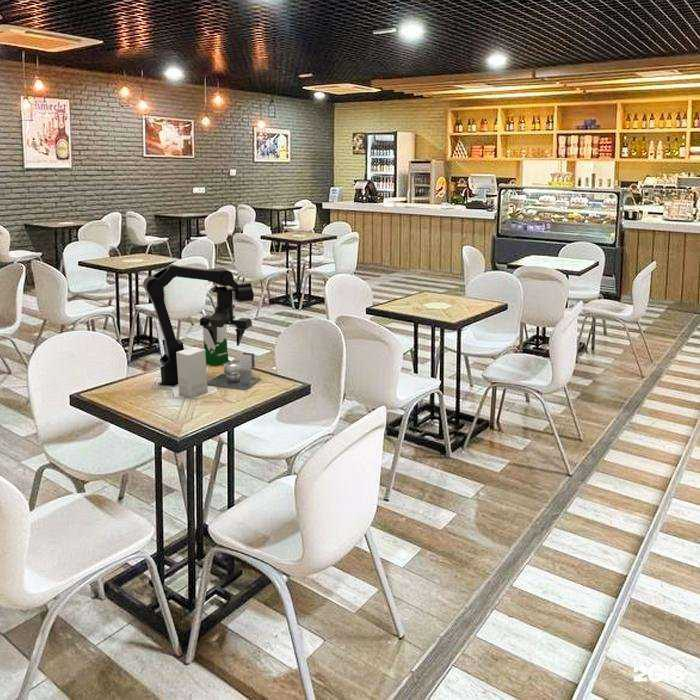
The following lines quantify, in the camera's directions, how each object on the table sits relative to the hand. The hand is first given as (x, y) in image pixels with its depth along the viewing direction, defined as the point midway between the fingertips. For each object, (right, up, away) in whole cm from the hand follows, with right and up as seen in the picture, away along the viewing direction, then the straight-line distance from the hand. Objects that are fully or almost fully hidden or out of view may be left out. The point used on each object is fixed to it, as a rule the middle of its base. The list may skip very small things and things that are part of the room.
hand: (226, 344), depth 269 cm
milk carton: (-8, -7, +20) cm, 23 cm away
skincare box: (-9, -17, -16) cm, 25 cm away
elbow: (+5, -10, -1) cm, 11 cm away
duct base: (+3, -14, -5) cm, 15 cm away
